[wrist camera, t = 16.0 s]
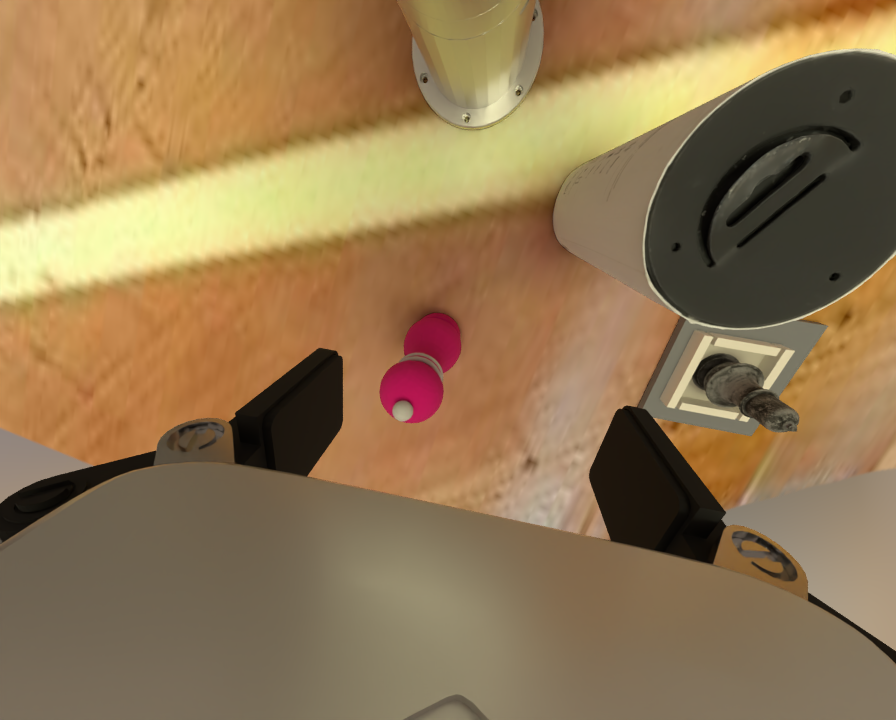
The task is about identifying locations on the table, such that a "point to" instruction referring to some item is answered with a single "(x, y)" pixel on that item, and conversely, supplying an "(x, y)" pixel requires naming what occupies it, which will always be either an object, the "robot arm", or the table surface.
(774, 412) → the salt shaker
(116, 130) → the table surface
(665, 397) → the socket board
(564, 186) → the speaker
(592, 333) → the table surface
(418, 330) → the pepper mill
